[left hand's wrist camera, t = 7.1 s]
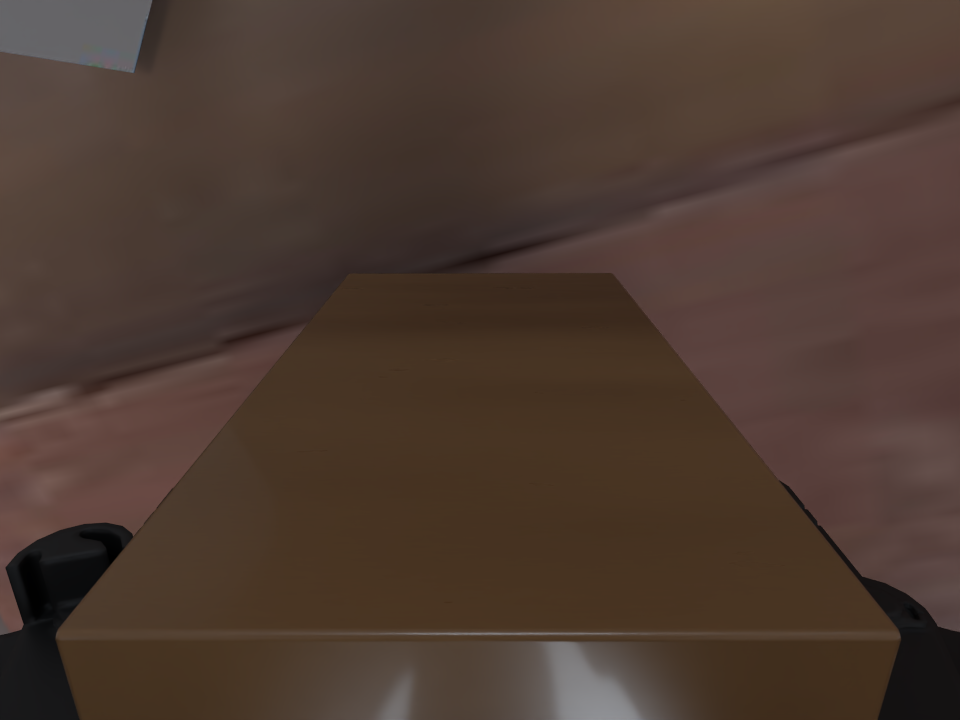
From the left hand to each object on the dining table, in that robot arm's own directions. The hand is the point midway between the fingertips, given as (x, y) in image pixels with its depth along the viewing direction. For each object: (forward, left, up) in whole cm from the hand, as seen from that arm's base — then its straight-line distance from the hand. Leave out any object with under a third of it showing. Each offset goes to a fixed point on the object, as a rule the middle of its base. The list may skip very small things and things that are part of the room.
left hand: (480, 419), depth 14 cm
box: (+10, 0, -2) cm, 10 cm away
